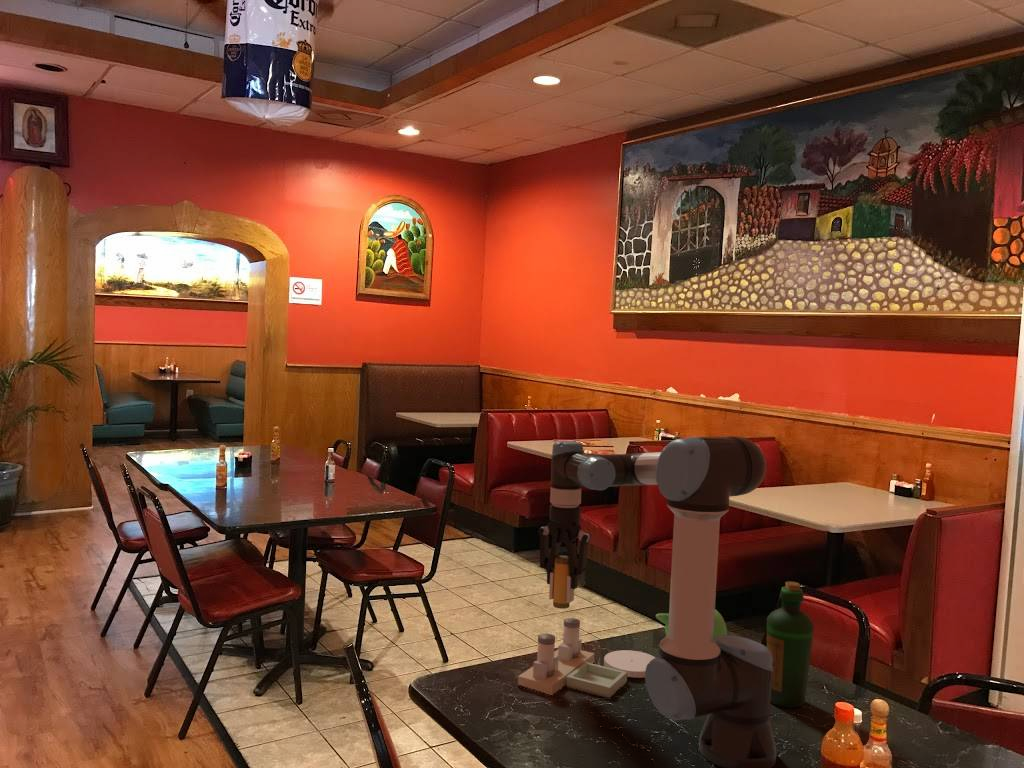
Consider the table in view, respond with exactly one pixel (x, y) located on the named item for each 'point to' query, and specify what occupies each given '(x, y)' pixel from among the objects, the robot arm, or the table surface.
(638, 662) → the plastic lid
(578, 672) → the tray
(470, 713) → the table surface
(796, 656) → the bottle
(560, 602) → the cylinder
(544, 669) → the block
